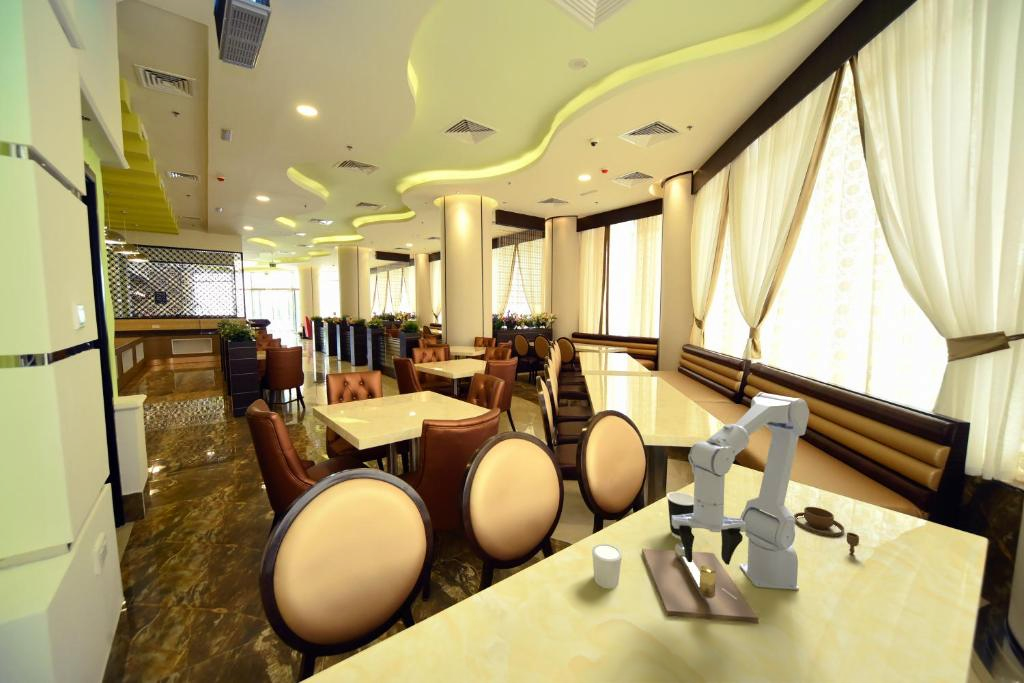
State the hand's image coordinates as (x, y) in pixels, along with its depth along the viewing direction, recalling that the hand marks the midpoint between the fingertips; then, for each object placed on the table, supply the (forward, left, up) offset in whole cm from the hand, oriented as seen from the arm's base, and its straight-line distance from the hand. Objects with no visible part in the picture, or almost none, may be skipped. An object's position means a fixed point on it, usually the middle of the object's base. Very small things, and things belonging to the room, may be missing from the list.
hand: (706, 560), depth 83 cm
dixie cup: (-4, -28, -10) cm, 30 cm away
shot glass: (+20, -6, -10) cm, 23 cm away
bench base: (0, -7, -10) cm, 12 cm away
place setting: (-45, -34, -11) cm, 57 cm away
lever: (0, -6, -8) cm, 11 cm away
